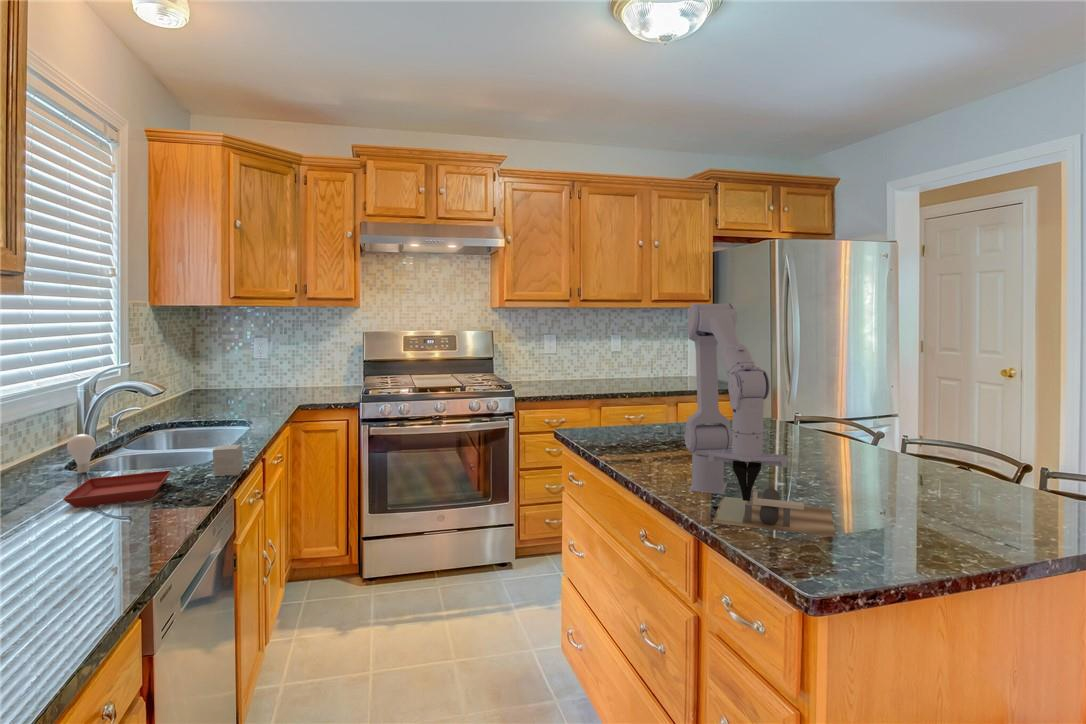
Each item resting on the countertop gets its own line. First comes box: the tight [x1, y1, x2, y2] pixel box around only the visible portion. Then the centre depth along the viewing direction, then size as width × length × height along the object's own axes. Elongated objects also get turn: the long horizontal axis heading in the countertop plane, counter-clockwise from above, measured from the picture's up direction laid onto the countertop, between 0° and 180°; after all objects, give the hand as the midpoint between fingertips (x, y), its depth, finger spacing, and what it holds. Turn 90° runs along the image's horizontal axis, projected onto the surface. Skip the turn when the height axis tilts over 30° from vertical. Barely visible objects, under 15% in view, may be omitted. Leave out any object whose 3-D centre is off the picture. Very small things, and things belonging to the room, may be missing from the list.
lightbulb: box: [66, 433, 97, 475], centre depth 164 cm, size 6×6×11 cm
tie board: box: [712, 496, 837, 538], centre depth 121 cm, size 17×22×4 cm
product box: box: [212, 443, 244, 477], centre depth 162 cm, size 6×6×7 cm
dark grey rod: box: [760, 488, 781, 526], centre depth 122 cm, size 14×3×3 cm, turn 157°
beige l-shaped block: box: [752, 488, 805, 510], centre depth 116 cm, size 2×9×3 cm, turn 67°
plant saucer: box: [62, 470, 172, 508], centre depth 144 cm, size 18×18×3 cm
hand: (746, 499), depth 118 cm, fingers closed
